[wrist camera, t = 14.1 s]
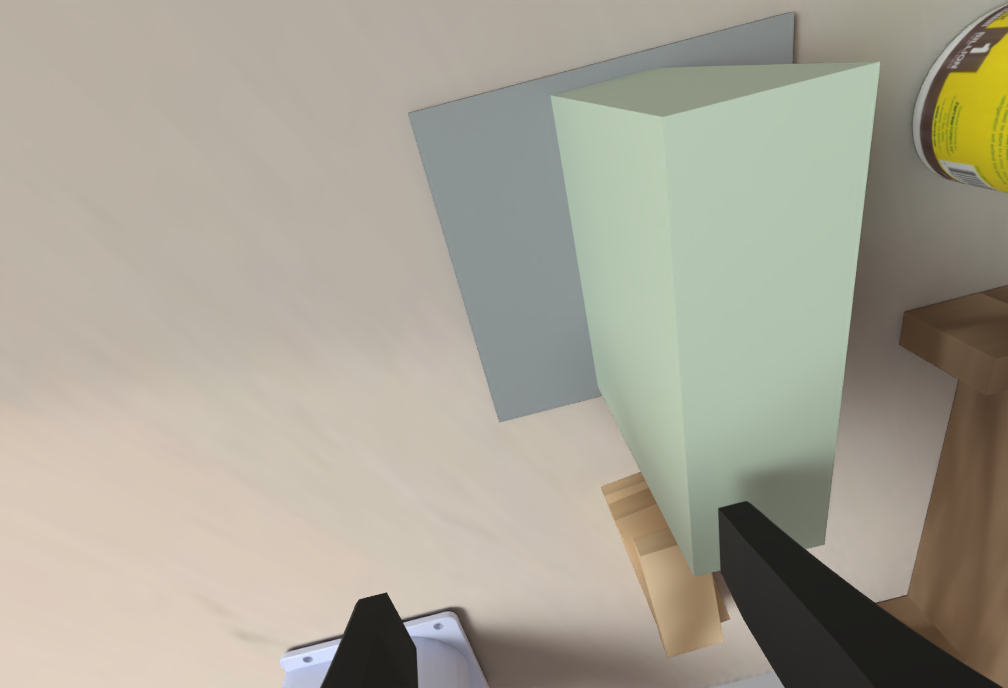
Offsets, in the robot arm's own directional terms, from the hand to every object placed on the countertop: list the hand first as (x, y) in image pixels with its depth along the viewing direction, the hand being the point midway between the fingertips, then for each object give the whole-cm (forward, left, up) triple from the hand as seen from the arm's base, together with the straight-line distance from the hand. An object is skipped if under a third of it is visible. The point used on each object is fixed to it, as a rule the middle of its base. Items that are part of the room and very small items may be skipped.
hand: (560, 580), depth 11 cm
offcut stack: (+5, -14, -11) cm, 19 cm away
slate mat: (+5, +3, -10) cm, 12 cm away
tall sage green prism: (+5, +3, -10) cm, 12 cm away
